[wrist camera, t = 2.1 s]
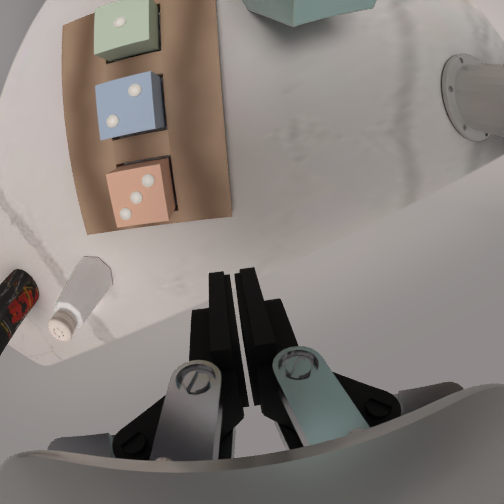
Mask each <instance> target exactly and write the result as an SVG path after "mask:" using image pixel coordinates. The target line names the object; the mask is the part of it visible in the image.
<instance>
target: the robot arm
mask: <svg viewBox="0 0 504 504" xmlns="http://www.w3.org/2000/svg"><path fill="white" fill-rule="evenodd" d="M442 92H443V99H444V103H445V107H446V110H447V113H448V115H449V118H450V119H451V121H452V123H453V125H454V126H455V128H456V129H457V131H458V132H459V133H460V134H461V135H462V136H464V137H465V138H467V139H470V140H473V141H477V142H478V141H483V140H485V139H487V138H488V137H489V136H490V135H491V134H493V135H497V136H500V137H504V65H482V64H481V63H480V62H479V61H478V60H477V59H476V58H474V57H472V56H470V55H467V54H459V55H455V56H453V57H451V58H450V59H449V60H448V61H447V63H446V65H445V67H444V71H443V76H442ZM234 275H235V283H236V291H237V299H238V306H239V314H240V322H241V329H242V336H243V342H244V348H245V354H246V361H247V367H248V372H249V378H250V384H251V390H252V396H253V401H254V405H255V406H256V405H261V410H262V413H263V414H264V416H266V417H268V418H270V419H272V420H274V421H275V425H276V428H277V430H278V432H279V435H280V437H281V439H282V441H283V444H284V446H285V448H286V451H281V452H276V453H270V454H263V455H257V456H249V457H241V458H234V452H235V451H234V450H235V434H236V430H235V426H236V425H237V424H238V423H239V422H240V421H241V420H242V419H243V418H244V411H243V407H249V403H248V396H247V390H246V384H245V377H244V371H243V364H242V358H241V351H240V344H239V337H238V330H237V323H236V317H235V309H234V302H233V295H232V288H231V281H230V274H229V275H224V272H223V271H222V272H214V273H209V308H205V309H197V310H192V317H191V333H190V354H189V362H186V363H184V364H182V365H180V366H179V367H178V368H177V369H176V370H175V371H174V372H173V374H172V376H171V378H170V382H169V385H168V389H167V393H166V395H165V396H164V397H163V398H161V399H160V400H159V401H158V402H156V403H155V404H154V405H152V406H151V407H150V408H148V409H147V410H146V411H145V412H143V413H142V414H141V415H140V416H138V417H137V418H136V419H134V420H133V421H132V422H130V423H129V424H128V425H127V426H125V427H124V428H122V429H121V430H120V431H119V432H118V433H117V434H116V435H110V434H109V433H104V434H96V435H86V436H75V437H61V438H57V439H55V440H54V441H52V442H51V443H50V445H49V446H48V449H47V450H36V451H28V452H22V453H18V454H15V455H13V456H10V457H9V458H7V459H6V460H5V461H4V462H3V463H2V465H1V466H0V504H504V384H485V385H479V386H473V387H470V388H466V389H463V387H461V386H460V385H459V384H457V383H454V382H444V383H439V384H435V385H430V386H425V387H420V388H414V389H408V390H402V391H399V392H398V394H395V395H392V394H390V393H388V392H387V391H384V390H381V389H378V388H375V387H372V386H369V385H366V384H364V383H361V382H358V381H355V380H353V379H350V378H347V377H345V376H342V375H339V374H337V373H334V372H332V371H331V369H330V368H329V366H328V365H327V363H326V362H325V360H324V359H323V357H322V356H321V355H320V354H319V353H318V352H317V351H315V350H313V349H311V348H308V347H304V346H302V347H301V346H298V344H297V341H296V338H295V335H294V333H293V330H292V327H291V325H290V322H289V320H288V317H287V314H286V311H285V309H284V306H283V303H282V301H281V299H273V300H267V301H264V299H263V296H262V292H261V289H260V285H259V282H258V278H257V275H256V272H255V268H254V267H253V268H245V269H240V273H237V274H234Z"/></svg>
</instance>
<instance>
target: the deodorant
mask: <svg viewBox="0 0 504 504" xmlns="http://www.w3.org/2000/svg"><path fill="white" fill-rule="evenodd" d="M38 298H39V290H38V287H37V285H36V283H35V281H34V280H33V278H32V277H31V276H30V275H29V274H28V273H26V272H25V271H23V270H19V269H16V270H14V271H13V272H12V273H11V274H10V275H9V276H8V277H7V278H6V279H5V280H4V281H3V282H2V283H1V284H0V355H1V353H2V352H3V350H4V348H5V347H6V345H7V344H8V342H9V341H10V339H11V337H12V336H13V334H14V333H15V331H16V330H17V328H18V327H19V325H20V324H21V322H22V321H23V320H24V318H25V317H26V315H27V314H28V313H29V311H30V310H31V308H32V307H33V306H34V304H35V303H36V302H37V300H38Z"/></svg>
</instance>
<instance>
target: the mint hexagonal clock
mask: <svg viewBox="0 0 504 504" xmlns="http://www.w3.org/2000/svg"><path fill="white" fill-rule="evenodd" d="M242 1H243V3H244V4H245V6H246V7H247V9H248V10H249V11H251V12H254V13H257V14H260V15H263V16H265V17H268V18H271V19H273V20H276V21H278V22H281V23H283V24H286V25H288V26H291V27H295V26H298V25H302V24H305V23H309V22H312V21H316V20H320V19H324V18H328V17H332V16H336V15H341V14H346V13H351V12H356V11H362V10H368V9H373V7H374V5H375V3H376V1H377V0H242Z"/></svg>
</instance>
